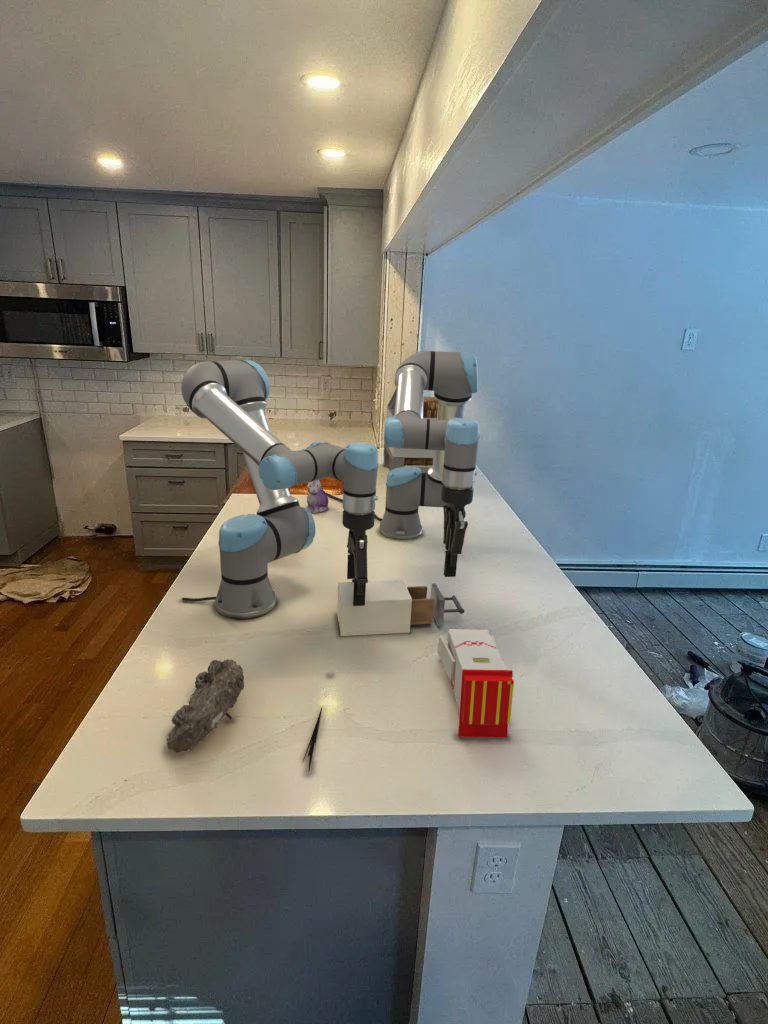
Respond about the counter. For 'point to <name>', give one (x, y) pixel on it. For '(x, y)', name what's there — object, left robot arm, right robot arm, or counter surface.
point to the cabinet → (375, 609)
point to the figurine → (316, 497)
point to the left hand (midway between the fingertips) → (355, 591)
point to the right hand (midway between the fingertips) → (449, 575)
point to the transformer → (410, 456)
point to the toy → (478, 682)
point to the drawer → (430, 605)
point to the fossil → (206, 705)
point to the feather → (313, 740)
